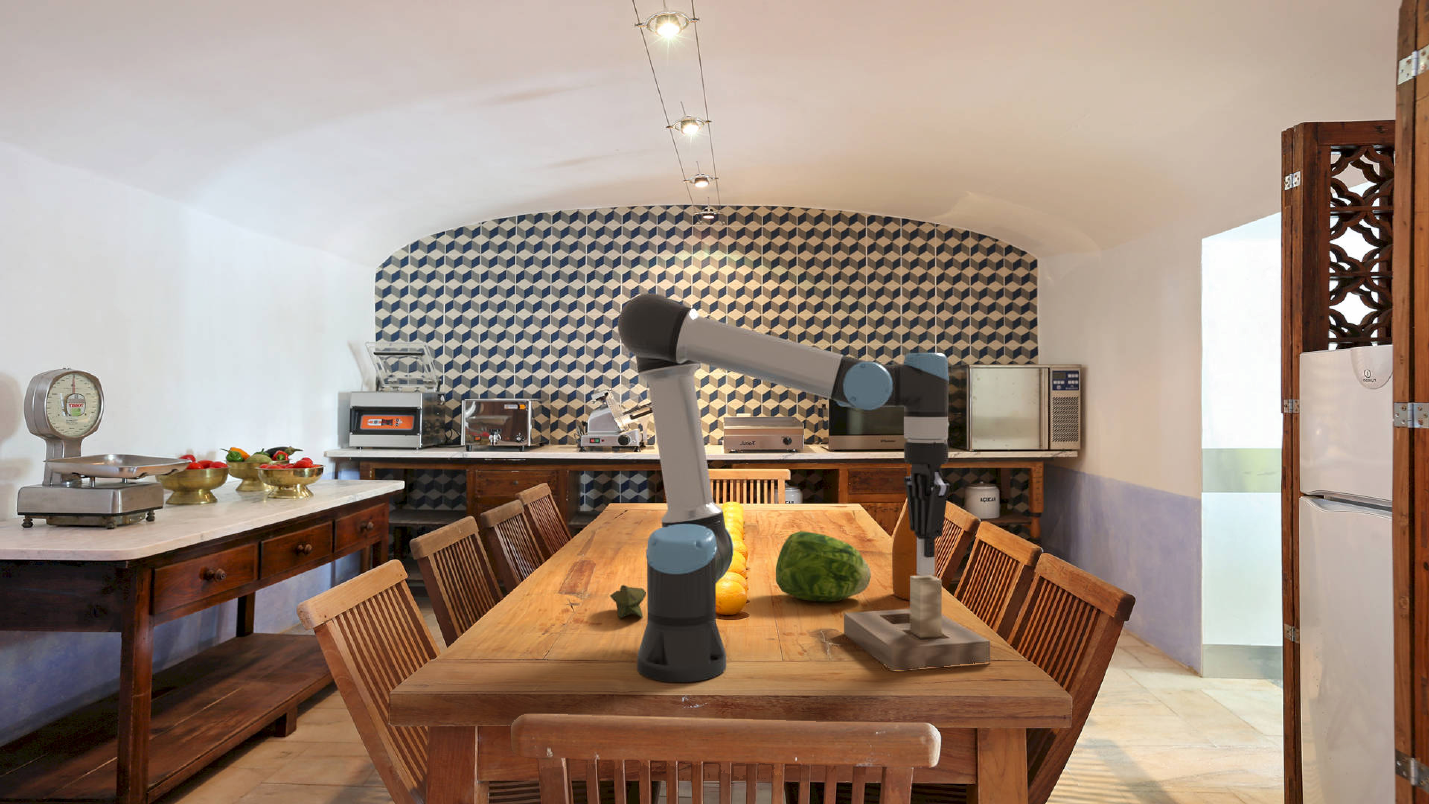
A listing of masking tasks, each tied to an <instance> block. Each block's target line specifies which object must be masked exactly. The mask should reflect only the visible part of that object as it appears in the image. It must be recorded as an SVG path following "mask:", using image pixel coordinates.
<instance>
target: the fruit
mask: <svg viewBox="0 0 1429 804" xmlns="http://www.w3.org/2000/svg"><path fill="white" fill-rule="evenodd" d="M646 596H647V591H646V590H645V589H644V588H642V587H639V588H638V587H629V586H627V585H624V584H623V585H621V586H620V589H619V590H616V591H614V592H613V593H612V594H610V595H609V597H610V598H611V599H612V601H614V602H615V604H616V611H617V615H618V618H619V619H622V618H624V617H627V616H629V615H630V614H633V615H636V616H638V617H640V618H644V616H643V612H642V607H641V603H642V602H643V600H644V599H645V597H646Z"/></svg>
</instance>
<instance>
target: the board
mask: <svg viewBox="0 0 1429 804" xmlns="http://www.w3.org/2000/svg"><path fill="white" fill-rule="evenodd" d="M843 634H844V635H845V636H846V637H848V638H849V639H850V640H851V641H853V642H854V643H855V645H858V647H860V648H861V649H862V650H864V651H865V650H866V651H865V652H867V653H868V654H869V653H870V654H871V655H870V654H869V655H870V656H872V657H873V658H874V659H875V658H876V659H875V660H877V661H878V662H879V661H881V662H882V663H883V664H885V665H886V666H887V667H889V668H890V669H891V670H893V671H894V670H910V669H919V668H927V667H944V666H951V665H960V664H973V663H974V664H975V663H985V662H990V663H991V641H990V640H989V639H987V638H985V637H984V636H982V635H980V634H979V633H977V632H975V631H973V630H971V629H969V628H967V627H965V626H964V625H963V624H960V623H958V622H956V621H955V620H953V619H951V618H949V617H948V616H946V615H944V614H942V639H934V640H920V641H917V640H916V639H914V638H913V637H911V636H910V608H904V609H903V608H900V609H888V610H887V609H886V610H885V609H883V610H871V611H856V612H844V613H843ZM881 662H880V663H881ZM882 663H881V664H882ZM883 664H882V665H883ZM886 666H885V667H886ZM887 667H886V668H887ZM891 670H890V671H891Z"/></svg>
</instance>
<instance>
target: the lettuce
mask: <svg viewBox="0 0 1429 804" xmlns="http://www.w3.org/2000/svg"><path fill="white" fill-rule="evenodd" d="M871 576H872V573H871V568H870V566H869V564H868V563H867V561H866V559H864V557H863V556H862V555H861V553H860V551H859V550H857V548H856V547H854V546H852V545H851V544H850V543H848V542H845V541H842V540H840V539H837V538H835V537H832V536H829V535H825V534H821V533H816V532H810V531H806V530H805V531H803V530H800V531H797V532H794V533H791V534H790V535H789V536H788V538H786V540H785V541H784V543H783V545H782V547H781V549H780V551H779V554H778V558H777V561H776V565H775V582H776V584H777V585H778V587H779V588H780V591H782V593H785V594H787V595H789V596H791V597H793V598H797V599H799V600H803V601H810V602H837V601H842V600H845V599H848V598H850V597H853V596H855V595H859V594H861V593H863V592H864V591H865V590H866V589H867V588H868V587H869V585H870V581H871V578H872V577H871Z"/></svg>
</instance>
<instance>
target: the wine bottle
mask: <svg viewBox="0 0 1429 804" xmlns="http://www.w3.org/2000/svg"><path fill="white" fill-rule="evenodd" d="M911 467H912V464H910V465H908V466H907V468H906V472H907V477H910V475H911ZM891 553H892V554H891V568H892V570H891V571H892V592H893V595H894V596H896V597H897V598H899V599H902V600H906V601H910V576H920V575H918V574H917V536H915V531H911V529H910V522H909V512H908V502H907V501H906V504H905V509H904V512H903V515H902V517H901V519H900V521H899V524H898V526H897V528H896V531H895V534H894V538H893V541H892V549H891ZM937 557H938V556H937V543H936V542H935V575H932V576H934V577H936V578H937V574H938V573H937V571H938V569H937V566H938V565H937V564H938V563H937V559H938V558H937Z"/></svg>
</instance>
